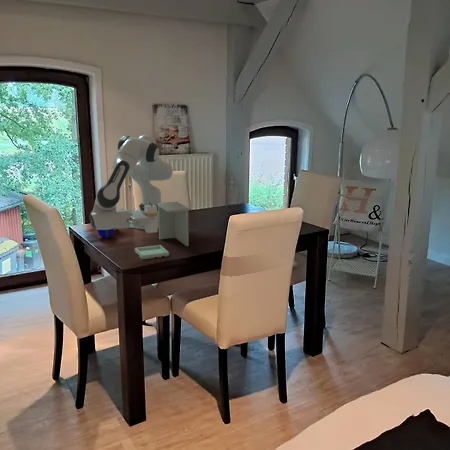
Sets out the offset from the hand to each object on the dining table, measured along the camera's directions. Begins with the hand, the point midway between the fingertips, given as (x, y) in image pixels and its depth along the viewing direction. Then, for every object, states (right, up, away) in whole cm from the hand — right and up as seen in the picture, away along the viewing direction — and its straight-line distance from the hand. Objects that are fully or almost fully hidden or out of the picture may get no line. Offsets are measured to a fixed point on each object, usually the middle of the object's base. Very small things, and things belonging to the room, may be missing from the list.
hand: (152, 216), depth 241 cm
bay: (+8, -14, +23) cm, 28 cm away
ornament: (-30, -11, +31) cm, 45 cm away
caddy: (-1, -7, +1) cm, 8 cm away
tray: (-1, -19, +3) cm, 19 cm away
